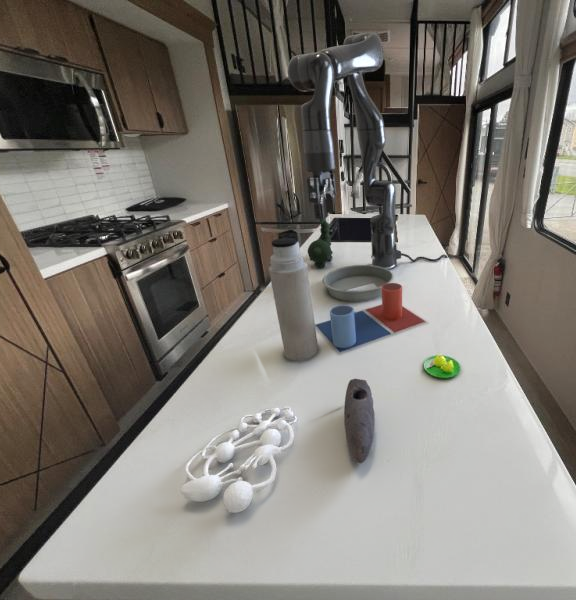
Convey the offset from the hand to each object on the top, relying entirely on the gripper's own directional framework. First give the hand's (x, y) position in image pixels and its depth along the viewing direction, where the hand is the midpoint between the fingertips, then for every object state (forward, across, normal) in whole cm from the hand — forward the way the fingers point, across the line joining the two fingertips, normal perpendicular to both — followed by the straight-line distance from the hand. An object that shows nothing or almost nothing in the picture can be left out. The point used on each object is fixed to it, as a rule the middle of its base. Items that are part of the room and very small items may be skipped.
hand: (325, 215), depth 89 cm
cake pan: (+28, +15, -4) cm, 32 cm away
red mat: (+28, -4, -20) cm, 34 cm away
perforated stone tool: (+28, -47, -20) cm, 58 cm away
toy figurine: (+28, +40, +18) cm, 52 cm away
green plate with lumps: (+28, -26, -34) cm, 51 cm away
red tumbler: (+28, -4, -19) cm, 34 cm away
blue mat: (+28, -13, -9) cm, 32 cm away
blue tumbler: (+28, -19, -9) cm, 35 cm away
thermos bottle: (+28, -25, 0) cm, 38 cm away
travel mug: (+28, +13, +19) cm, 36 cm away
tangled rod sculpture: (+28, -55, -3) cm, 62 cm away
